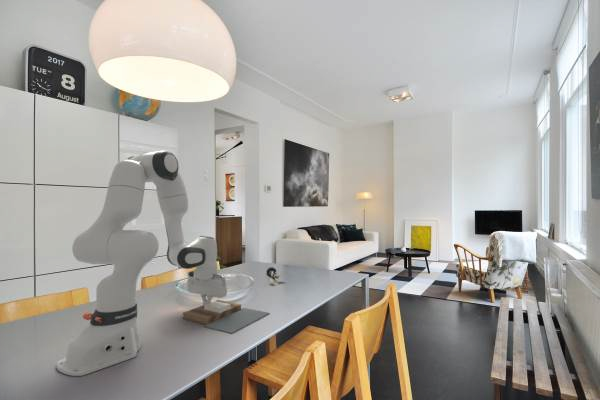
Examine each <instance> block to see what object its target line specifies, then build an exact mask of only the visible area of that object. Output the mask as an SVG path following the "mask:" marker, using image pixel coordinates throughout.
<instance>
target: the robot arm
mask: <svg viewBox="0 0 600 400" xmlns="http://www.w3.org/2000/svg"><path fill="white" fill-rule="evenodd" d="M179 168H180V167H179V162H178V159H177V157H176V156H175V155H174V154H173V153H172V152H171V151H168V150H158V151H151V152H143V153H140V154H137V155H133V156H130V157H128V158H126V159H123V160H120V161H118V162H117V163H116V164H115V166H114V167H113V170H112V173H111V175H110V179H109V182H108V186H107V190H106V196H105V200H104V203H103V207H102V209H101V212H100V214H99V216H98V218H97V219H96V220H95V221H94V222H93V223H92V224H91V226H90V227H88V228H87V229H85V231H83V232H81V233H80V234H78V235H77V236H76V238H75V239H74V240H73V242H72V243H73V244H72V248H71V250H72V255H73V257H74V258H75V260H76V261H78V262H81V263H85V264H92V265H114V267H113V271H112V273H111V274H110V275H108V276H106V277H104V278H102V279H101V280H100V281H99V282H98V284H97V285H96V302H95V303H96V306H95V307H96V309H95V310H94V312H93V313H90V312H84V314H83V315H82V319H83V320H86V321H89V324H88V325H87V326H86V327H85V328H84V329H82V331H80V332H79V333H78V334H77V335H76V336H75V337H74V338H73V339H72V340H71V341H69V343H68V345H67V350H66V355H65V357H63V358H61V359H59V360H57V363H56V370H57V371H58V372H61V373H62V374H64V375H67V376H71V377H72V376H73V377H79V376H80V377H82V376H86V375H88V374H92V373H94V372H97V371H99V370H103V369H105V368H108V367H110V366H113V365H116V364H118V363H121V362H125V361H127V360H131V359H133V358H136V357H137V355H138V351H140V349H141V347H142V342H141V340H140V337H139V331H138V324H137V318H138V304H137V303H136V301H137V298H136V297H137V283H138V279H139V277H140V273H141V272H142V270H143V269H144V268H145V266H146V265H147V264H149V262H151V261H152V260H153V259H154V258H155V257H156V256H157V253H158V252H159V240H158V238H157V237H156V235H155V234H154V232H151V231H145V230H139V229H124V228H125V227H126V225H128V223H130V222H133V220H136V219H137V218H138V217H140V215H141V213H142V209H143V208H142V207H143V202H144V197H145V196H144V195H145V188H146V187H145V186H146V183H153V184H154V186H155V188H156V196H157V200H158V203H159V204H158V205H159V207H160V211H161V213H162V216H163V219H164V224H165V230H166V231H165V232H166V235H167V243H168V246H167V250H166V259H167V261H168V262H169V264H170V265H172V266H175V267H179V268H181V269H183V270H184V269H185V270H188V269H193V270H190V271H188V272H187V285H186V286H187V287H186V288H187V291H188V293H191V294H195V295H200V299H201V298H202V299H201V300H202V306H203V305H205V304H208V303H210V302H212V300H213V298H219V299H221V298H225V297H226V296H227V295H228V294H227V293H228V291H227V289H228V288H227V283H226V282H227V281H226V278H225V277H224V275H222V274H218V263H217V259H218V246H217V245H218V244H217V240H216V239H215V238H214V237H211V236H206V235H200V236H197V238H195V239H194V240H192V241H191V242H189V243H186V242H185V240H184V235H183V233H184V232H183V228H182V220H183V217H184V215H186V213H187V212H188V210H189V199H188V198H189V197H188V195H187V194H188V193H187V190H186V186H185V184H184V180H183V179H182V176H181V174H180V171H179ZM194 268H195V269H194ZM206 297H207V298H206Z"/></svg>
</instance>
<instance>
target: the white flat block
mask: <svg viewBox="0 0 600 400" xmlns="http://www.w3.org/2000/svg"><path fill="white" fill-rule="evenodd" d="M228 309H230V304H227V303H222V302H217V301H216V300H214V301H211V302H210V303H208V304H205V305H204V310H209V311H213V312H218V313H221V312H224V311H226V310H228Z"/></svg>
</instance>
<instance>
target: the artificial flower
mask: <svg viewBox="0 0 600 400" xmlns="http://www.w3.org/2000/svg"><path fill="white" fill-rule="evenodd" d="M266 276H267V277H266V281H267V282H269V284H273V285H274V286H278V285H279V281H278V279H279V278H280V277H281V276H282V275H281V274H280V273H277V269H276V268H274V267H268V268H267V269H266Z"/></svg>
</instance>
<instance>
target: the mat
mask: <svg viewBox="0 0 600 400" xmlns="http://www.w3.org/2000/svg"><path fill="white" fill-rule="evenodd" d="M268 315H270V312H268V311H261V310H257V309H252V308H247V307H241V309H240V310H238V311H236V312H234V313H231V314H229V315H227V316H225V317H222V318H220V319H218V320H216V321H214V322H211V323H209V324H207V325H205V324H204V326H203V328H206V329H210V330H213V331H215V330H216V331H219V332H223V333H227V334H231V335H233V334H235V333H236V332H238V331H241V330H242V329H245V327H247V326H250V325H251V324H253V323H255V322H256V321H260V320H261V319H263V318H264V317H267V316H268Z"/></svg>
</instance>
